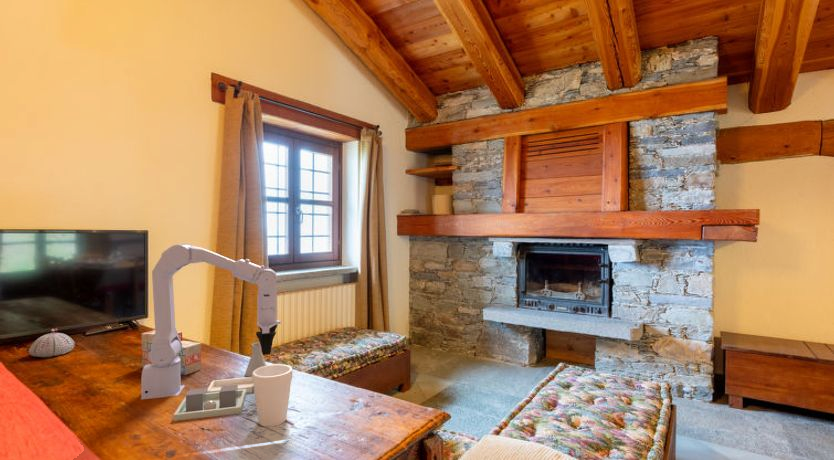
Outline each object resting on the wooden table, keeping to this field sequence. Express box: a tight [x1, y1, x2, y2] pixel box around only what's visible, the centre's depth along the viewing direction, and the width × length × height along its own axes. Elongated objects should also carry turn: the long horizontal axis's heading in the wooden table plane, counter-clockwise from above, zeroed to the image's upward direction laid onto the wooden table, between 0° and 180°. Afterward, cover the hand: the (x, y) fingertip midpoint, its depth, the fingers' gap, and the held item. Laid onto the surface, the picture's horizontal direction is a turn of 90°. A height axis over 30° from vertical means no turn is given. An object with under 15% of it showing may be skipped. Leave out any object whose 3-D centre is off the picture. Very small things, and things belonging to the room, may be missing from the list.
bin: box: [172, 389, 247, 422], centre depth 111 cm, size 16×13×2 cm
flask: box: [244, 342, 267, 377], centre depth 137 cm, size 7×7×10 cm
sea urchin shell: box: [28, 332, 76, 358], centre depth 159 cm, size 13×14×8 cm
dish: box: [206, 376, 255, 394], centre depth 123 cm, size 13×9×2 cm
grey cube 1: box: [219, 385, 238, 408], centre depth 112 cm, size 4×4×4 cm
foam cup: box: [252, 363, 293, 427], centre depth 103 cm, size 10×9×13 cm
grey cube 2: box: [185, 387, 207, 412], centre depth 110 cm, size 4×4×4 cm
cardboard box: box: [141, 329, 202, 376], centre depth 142 cm, size 21×6×12 cm, turn 68°
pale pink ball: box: [204, 400, 216, 410], centre depth 107 cm, size 3×3×3 cm
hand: (267, 350), depth 129 cm, fingers open, 7 cm apart
